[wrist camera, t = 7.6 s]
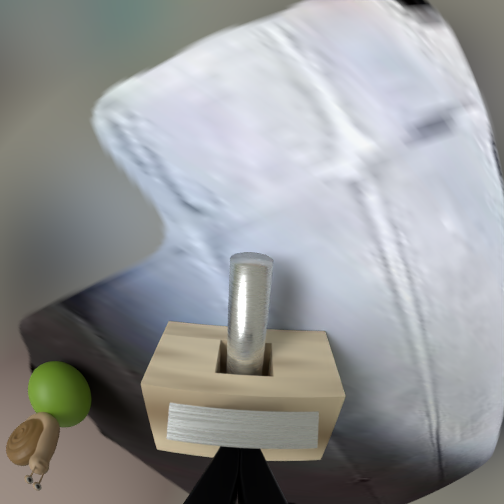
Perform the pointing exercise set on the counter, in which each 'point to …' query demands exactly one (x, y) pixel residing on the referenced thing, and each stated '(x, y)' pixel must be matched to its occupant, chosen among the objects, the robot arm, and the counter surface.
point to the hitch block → (242, 382)
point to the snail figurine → (48, 415)
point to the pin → (248, 312)
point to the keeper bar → (242, 427)
